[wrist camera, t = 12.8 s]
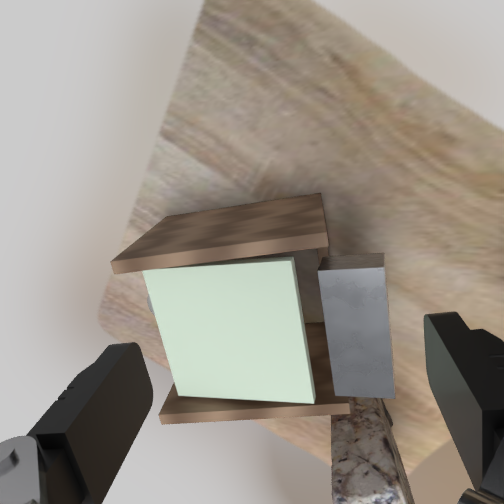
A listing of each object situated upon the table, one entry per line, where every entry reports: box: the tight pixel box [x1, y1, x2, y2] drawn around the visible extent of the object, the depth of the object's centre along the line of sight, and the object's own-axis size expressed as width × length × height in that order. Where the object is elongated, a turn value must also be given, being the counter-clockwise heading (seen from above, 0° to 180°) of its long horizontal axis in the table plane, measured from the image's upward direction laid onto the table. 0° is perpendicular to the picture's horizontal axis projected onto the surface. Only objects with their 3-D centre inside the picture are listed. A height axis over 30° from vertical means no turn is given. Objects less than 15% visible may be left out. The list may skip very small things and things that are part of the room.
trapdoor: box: [142, 253, 395, 404], centre depth 37 cm, size 21×14×3 cm, turn 100°
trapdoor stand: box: [111, 193, 350, 425], centre depth 43 cm, size 18×18×15 cm
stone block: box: [331, 396, 415, 504], centre depth 45 cm, size 13×7×20 cm, turn 30°
